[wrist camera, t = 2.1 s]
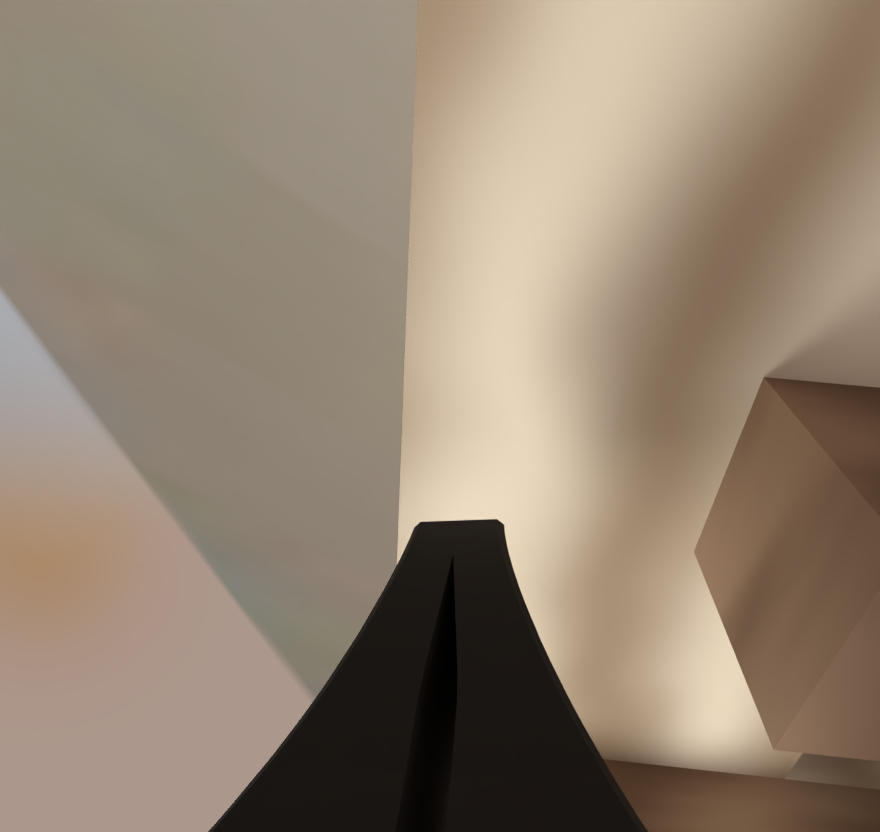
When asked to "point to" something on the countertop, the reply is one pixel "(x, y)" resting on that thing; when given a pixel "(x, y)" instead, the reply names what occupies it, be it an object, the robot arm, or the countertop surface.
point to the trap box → (638, 341)
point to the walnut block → (804, 564)
